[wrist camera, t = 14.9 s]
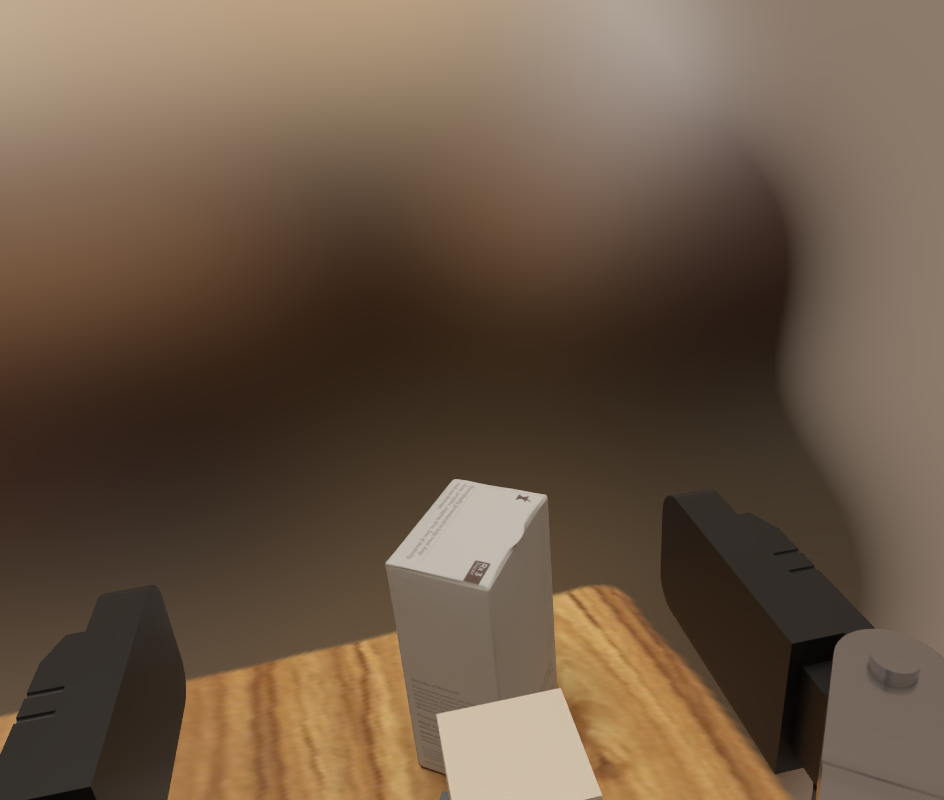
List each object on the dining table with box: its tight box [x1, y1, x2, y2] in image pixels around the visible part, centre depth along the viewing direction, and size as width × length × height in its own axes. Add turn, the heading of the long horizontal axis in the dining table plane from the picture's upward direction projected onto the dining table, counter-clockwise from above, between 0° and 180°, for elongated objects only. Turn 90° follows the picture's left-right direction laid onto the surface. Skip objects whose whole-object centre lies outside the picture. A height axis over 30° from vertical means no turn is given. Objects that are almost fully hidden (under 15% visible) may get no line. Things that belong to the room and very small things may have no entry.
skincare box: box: [385, 479, 557, 774], centre depth 43 cm, size 8×6×15 cm
